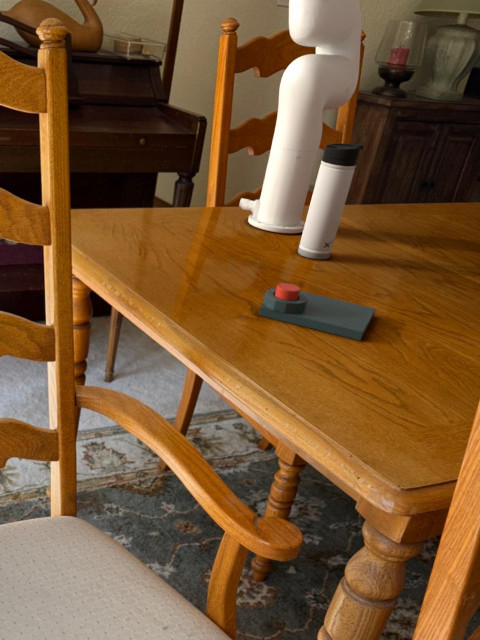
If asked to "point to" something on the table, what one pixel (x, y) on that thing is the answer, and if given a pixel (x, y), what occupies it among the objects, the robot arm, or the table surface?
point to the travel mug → (328, 200)
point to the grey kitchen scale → (319, 313)
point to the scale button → (287, 291)
